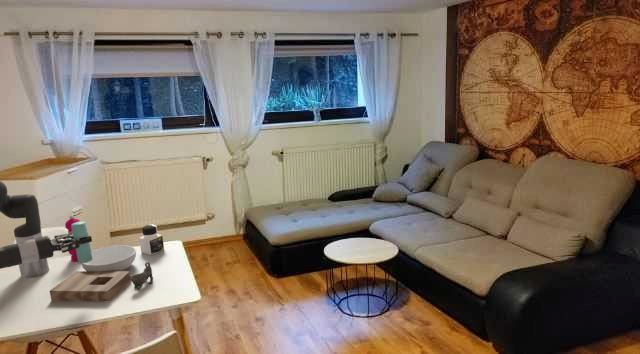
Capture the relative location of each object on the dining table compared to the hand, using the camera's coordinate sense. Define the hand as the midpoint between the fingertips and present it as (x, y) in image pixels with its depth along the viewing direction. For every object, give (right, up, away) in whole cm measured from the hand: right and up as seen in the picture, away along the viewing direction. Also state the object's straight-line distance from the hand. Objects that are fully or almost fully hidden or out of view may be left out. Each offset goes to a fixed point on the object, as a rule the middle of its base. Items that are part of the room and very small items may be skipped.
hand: (89, 236), depth 170 cm
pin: (-2, -9, 0) cm, 9 cm away
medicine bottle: (+8, -12, +42) cm, 44 cm away
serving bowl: (-3, -17, +25) cm, 30 cm away
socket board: (-2, -21, +7) cm, 22 cm away
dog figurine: (+16, -20, +9) cm, 27 cm away
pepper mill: (-23, -15, +38) cm, 46 cm away
